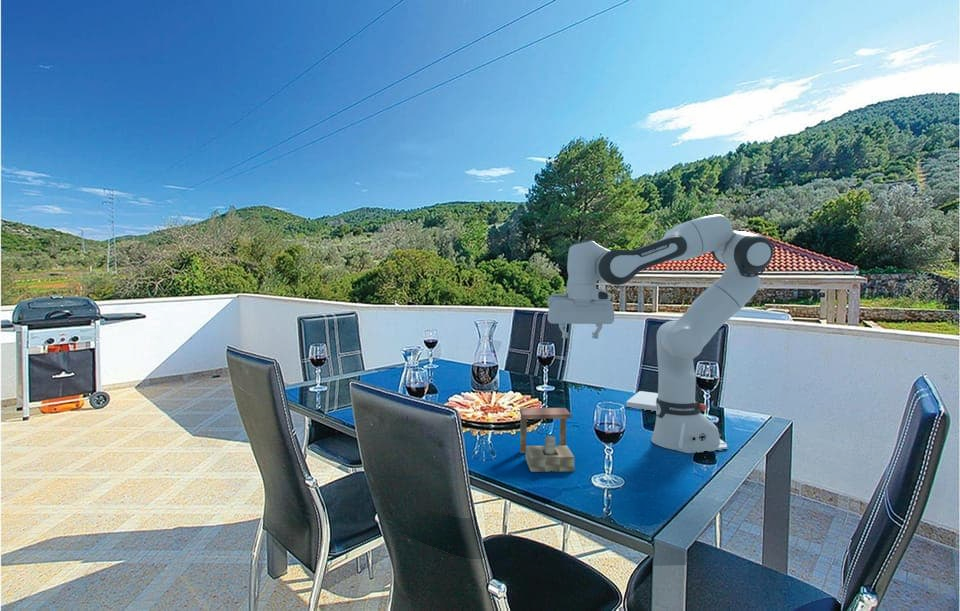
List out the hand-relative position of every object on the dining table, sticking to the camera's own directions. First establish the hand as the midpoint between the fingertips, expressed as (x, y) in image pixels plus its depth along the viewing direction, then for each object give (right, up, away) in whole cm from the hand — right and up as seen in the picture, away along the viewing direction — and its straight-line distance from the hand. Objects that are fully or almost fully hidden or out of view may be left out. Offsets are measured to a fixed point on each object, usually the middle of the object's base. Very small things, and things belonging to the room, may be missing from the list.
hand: (580, 338), depth 151 cm
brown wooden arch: (-12, -34, -5) cm, 37 cm away
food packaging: (+40, -32, +52) cm, 73 cm away
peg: (-11, -35, -14) cm, 39 cm away
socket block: (-11, -35, -13) cm, 39 cm away
